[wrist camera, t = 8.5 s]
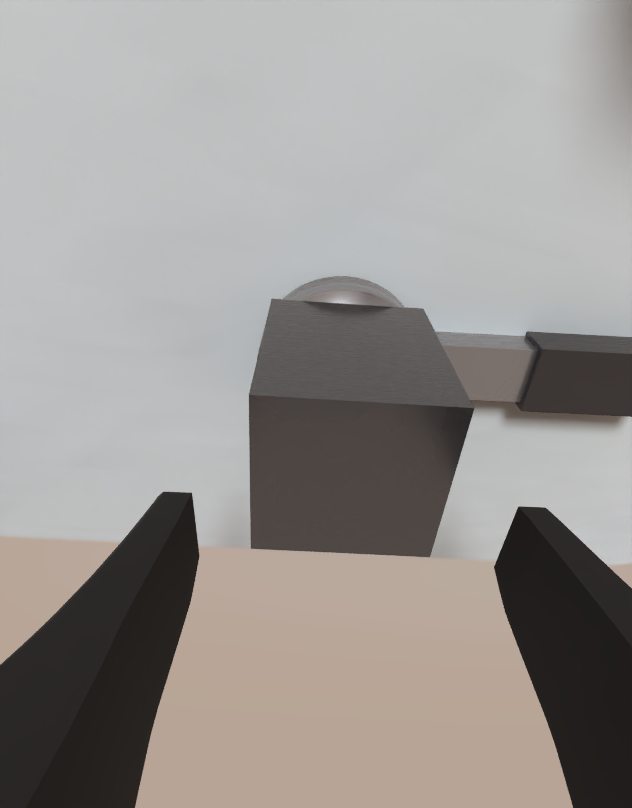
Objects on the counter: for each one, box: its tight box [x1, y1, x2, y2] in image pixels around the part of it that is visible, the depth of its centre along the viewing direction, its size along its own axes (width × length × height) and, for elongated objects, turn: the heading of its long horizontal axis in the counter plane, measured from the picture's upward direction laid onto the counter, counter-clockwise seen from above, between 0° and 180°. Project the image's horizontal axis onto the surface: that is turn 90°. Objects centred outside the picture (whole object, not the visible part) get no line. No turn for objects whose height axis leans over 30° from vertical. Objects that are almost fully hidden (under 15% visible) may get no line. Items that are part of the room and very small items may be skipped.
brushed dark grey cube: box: [249, 299, 474, 557], centre depth 14 cm, size 5×5×6 cm
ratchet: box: [257, 276, 632, 417], centre depth 16 cm, size 15×6×4 cm, turn 87°
